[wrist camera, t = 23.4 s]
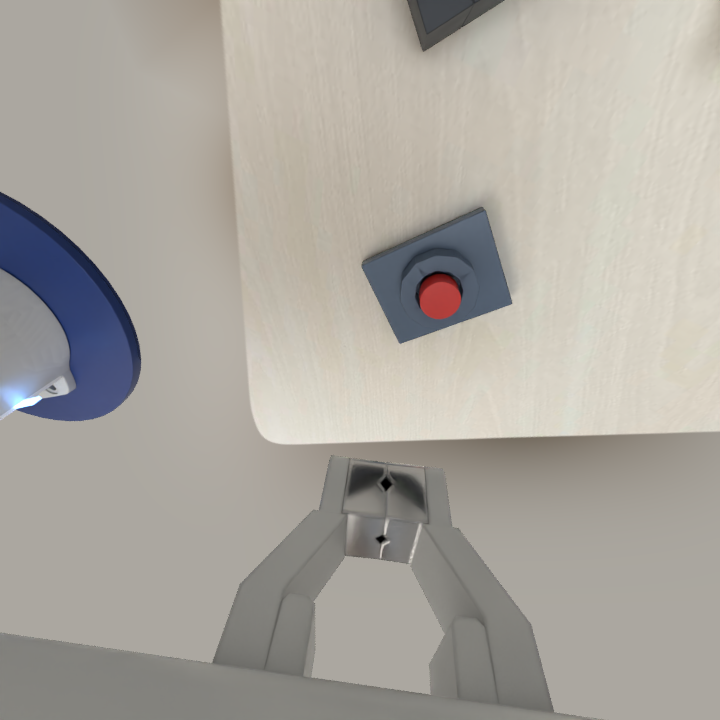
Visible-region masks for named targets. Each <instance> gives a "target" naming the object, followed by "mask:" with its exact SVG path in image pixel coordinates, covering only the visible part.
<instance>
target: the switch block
mask: <svg viewBox="0 0 720 720" xmlns="http://www.w3.org/2000/svg"><path fill="white" fill-rule="evenodd" d="M362 269H363V271H364V273H365V275H366V277H367V279H368V281H369V283H370V285H371V287H372V289H373V291H374V293H375V295H376V297H377V299H378V301H379V303H380V305H381V307H382V309H383V311H384V313H385V315H386V317H387V319H388V321H389V323H390V325H391V327H392V330H393V332H394V334H395V336H396V338H397V340H398V342H399V343H400V344H401V343H404V342H406V341H409V340H412V339H415V338H418V337H420V336H423V335H426V334H429V333H432V332H435V331H437V330H440V329H443V328H446V327H449V326H451V325H454V324H457V323H460V322H463V321H466V320H468V319H471V318H474V317H477V316H480V315H482V314H485V313H488V312H491V311H494V310H497V309H499V308H502V307H505V306H508V305H511V304H512V300H511V297H510V294H509V290H508V287H507V283H506V280H505V276H504V273H503V269H502V266H501V262H500V259H499V255H498V252H497V248H496V245H495V241H494V238H493V235H492V231H491V228H490V224H489V221H488V217H487V214H486V210H485V209H484V208H483V207H481V208H479V209H477V210H474V211H472V212H470V213H468V214H466V215H464V216H461V217H459V218H457V219H455V220H453V221H450V222H448V223H446V224H444V225H442V226H439V227H437V228H435V229H433V230H431V231H428V232H426V233H424V234H422V235H420V236H417V237H415V238H413V239H411V240H409V241H406V242H404V243H402V244H400V245H398V246H395V247H393V248H391V249H389V250H387V251H384V252H382V253H380V254H378V255H376V256H373V257H371V258H369V259H367V260H365V261H363V263H362ZM435 274H446V275H449V276H450V277H452V278H453V279H454V280H455V281H456V283H457V285H458V288H459V291H460V295H461V303H460V306H459V308H458V310H457V311H456V312H455V313H454V314H453V315H451V316H449V317H447V318H444V319H434V318H431V317H429V316H427V315H426V314H425V313H424V312H423V311H422V309H421V307H420V299H419V290H420V287H421V285H422V283H423V282H424V280H425V279H427V278H428V277H430V276H432V275H435Z"/></svg>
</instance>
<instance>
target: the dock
mask: <svg viewBox="0 0 720 720" xmlns="http://www.w3.org/2000/svg"><path fill="white" fill-rule="evenodd" d="M407 1H408V5H409V8H410V11H411V15H412V18H413V21H414V24H415V28H416V31H417V34H418V37H419V41H420V44H421V47H422V50H423V51H425V50H427V49H429V48H430V47H432V46H433V45H435V44H436V43H438V42H440V41H441V40H443V39H444V38H446V37H447V36H449V35H451V34H452V33H454V32H455V31H457V30H458V29H460V28H461V27H463V26H465V25H466V24H468V23H470V22H471V21H473V20H474V19H476V18H477V17H479V16H481V15H482V14H484V13H485V12H487V11H488V10H490V9H492V8H493V7H495V6H496V5H498V4H499V3H501V2H503V1H504V0H407Z"/></svg>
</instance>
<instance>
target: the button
mask: <svg viewBox="0 0 720 720" xmlns="http://www.w3.org/2000/svg"><path fill="white" fill-rule="evenodd" d="M419 299H420V307H421V309H422V311H423V312H424V313H425V314H426V315H427V316H429V317H431V318H434V319H444V318H447V317H449V316H451V315H453V314H454V313H455V312H456V311H457V310H458V308H459V306H460V303H461V295H460V291H459V288H458V285H457V283H456V281H455V280H454V279H453V278H452V277H450V276H449V275H446V274H435V275H432V276H430V277H428V278H427V279H425V280H424V282H423V283H422V285H421V287H420V290H419Z"/></svg>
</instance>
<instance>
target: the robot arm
mask: <svg viewBox="0 0 720 720" xmlns="http://www.w3.org/2000/svg"><path fill="white" fill-rule="evenodd" d="M69 361H70V348H69V343H68V340H67V337H66V335H65V332H64V330H63V328H62V326H61V325H60V323H59V321H58V320H57V318H56V317H55V315H54V314H53V313H52V311H51V310H50V309H49V308H48V307H47V305H46V304H45V303H44V302H43V301H42V300H41V299H40V298H39V297H38V296H37V295H36V294H35V293H34V292H33V291H32V290H30V289H29V288H28V287H27V286H26V285H24V284H23V283H22V282H20V281H19V280H18V279H16V278H15V277H13V276H12V275H10V274H9V273H7V272H6V271H4V270H2V269H0V420H1V419H3V418H4V417H6V416H7V415H9V414H10V413H12V412H13V411H14V410H16V409H18V408H21V407H26V406H31V405H34V404H35V403H36V402H38V401H39V400H41V399H43V398H49V397H55V396H60V395H66V394H68V393H70V392H71V391H73V390H74V389H76V383H75V380H74V377H73V375H72V373H71V371H70V367H69ZM345 556H353V557H363V558H373V559H381V560H387V561H394V562H400V563H406V564H411V568H412V570H413V572H414V574H415V576H416V578H417V580H418V582H419V584H420V586H421V588H422V590H423V592H424V594H425V596H426V598H427V600H428V602H429V603H430V606H431V608H432V610H433V611H434V614H435V615H436V617H437V619H438V621H439V623H440V625H441V627H442V629H443V631H444V633H445V636H444V637H443V639H442V641H441V643H440V645H439V647H438V649H437V651H436V653H435V654H434V656H433V658H432V660H431V662H430V664H429V669H430V690H431V695H429V694H422V693H415V692H408V691H401V690H394V689H387V688H380V687H374V686H367V685H359V684H353V683H346V682H339V681H331V680H325V679H318V678H311V674H312V668H313V661H314V654H315V603H314V602H313V601H314V600H315V599H316V597H317V596H318V594H319V593H320V592H321V590H322V589H323V587H324V586H325V585H326V583H327V582H328V580H329V579H330V578H331V576H332V575H333V573H334V572H335V570H336V569H337V568H338V566H339V565H340V563H341V562H342V561H343V559H344V557H345ZM0 720H602V719H596V718H588V717H582V716H575V715H568V714H560V713H554V710H553V706H552V702H551V698H550V694H549V691H548V687H547V683H546V679H545V675H544V672H543V668H542V664H541V660H540V657H539V653H538V649H537V645H536V641H535V638H534V634H533V630H532V626H531V624H530V622H529V621H528V620H527V618H526V617H525V616H524V615H523V613H522V612H521V611H520V609H519V608H518V606H517V605H516V604H515V603H514V601H513V600H512V599H511V597H510V596H509V595H508V593H507V592H506V591H505V589H504V588H503V587H502V585H501V584H500V583H499V581H498V580H497V579H496V577H494V575H493V573H492V572H491V571H490V570H489V568H488V567H487V566H486V564H485V563H484V561H483V560H482V559H481V558H480V556H479V555H478V554H477V552H476V551H475V550H474V548H473V547H472V546H471V544H470V543H469V542H468V540H467V539H466V538H465V536H464V535H463V534H462V533H461V531H460V530H459V528H454V527H452V522H451V514H450V507H449V499H448V492H447V485H446V478H445V472H444V470H443V469H442V468H433V467H423V466H418V465H408V464H400V463H390V462H386V463H385V462H378V461H371V460H364V459H357V458H349V457H341V456H334V455H332V456H331V458H330V460H329V464H328V469H327V474H326V479H325V483H324V488H323V493H322V498H321V503H320V507H319V510H313V511H312V512H311V513H310V514H309V515H308V516H307V517H306V518H305V519H304V520H303V521H302V522H301V523H300V524H299V525H298V526H297V527H296V528H295V529H294V530H293V531H292V532H291V533H290V534H289V535H288V536H287V537H286V538H285V539H284V540H283V541H282V542H281V543H280V544H279V545H278V546H277V547H276V548H275V549H274V550H273V551H272V552H271V553H270V554H269V555H268V556H267V557H266V558H265V559H264V560H263V561H262V562H261V563H260V564H259V565H258V566H257V568H255V569H254V570H253V572H251V573H250V574H249V576H248V577H247V578H246V579H245V580H244V581H243V582H242V583H241V584H240V585H239V588H238V591H237V594H236V597H235V600H234V602H233V605H232V608H231V611H230V614H229V617H228V620H227V622H226V625H225V628H224V631H223V634H222V636H221V639H220V642H219V645H218V648H217V651H216V654H215V657H214V659H213V663H207V662H200V661H193V660H186V659H179V658H172V657H165V656H159V655H152V654H144V653H138V652H130V651H124V650H117V649H110V648H103V647H96V646H89V645H82V644H75V643H68V642H62V641H55V640H48V639H40V638H34V637H27V636H19V635H12V634H6V633H0Z"/></svg>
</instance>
